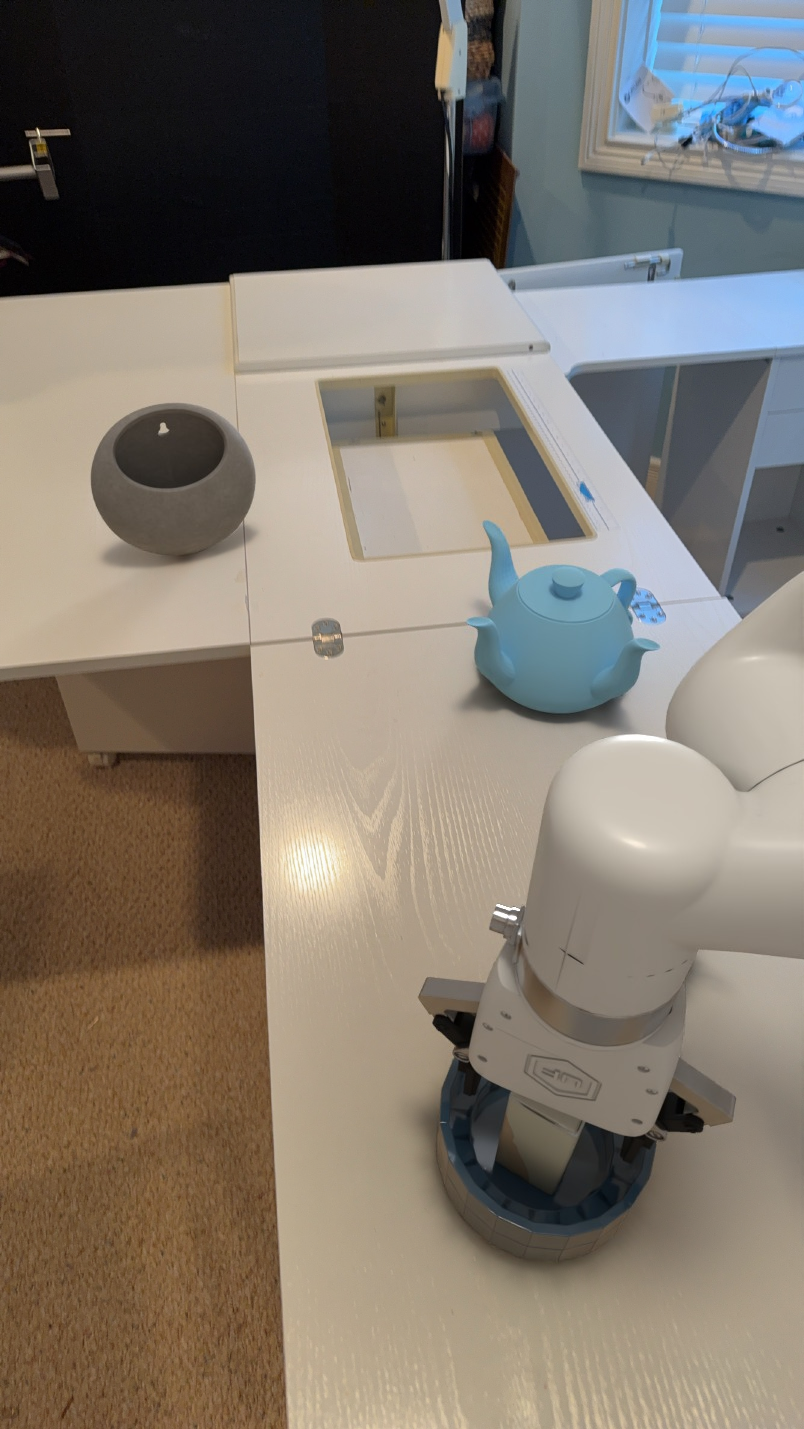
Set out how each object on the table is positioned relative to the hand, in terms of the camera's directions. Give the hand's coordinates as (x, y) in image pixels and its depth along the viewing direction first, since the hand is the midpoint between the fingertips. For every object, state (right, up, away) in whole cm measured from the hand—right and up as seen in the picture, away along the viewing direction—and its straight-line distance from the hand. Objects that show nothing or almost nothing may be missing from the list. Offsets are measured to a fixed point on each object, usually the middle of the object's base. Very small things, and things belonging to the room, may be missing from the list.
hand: (551, 1104), depth 53 cm
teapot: (+6, +28, +39) cm, 48 cm away
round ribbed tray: (0, -5, +5) cm, 8 cm away
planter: (-35, +43, +54) cm, 78 cm away
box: (0, -5, +5) cm, 7 cm away
